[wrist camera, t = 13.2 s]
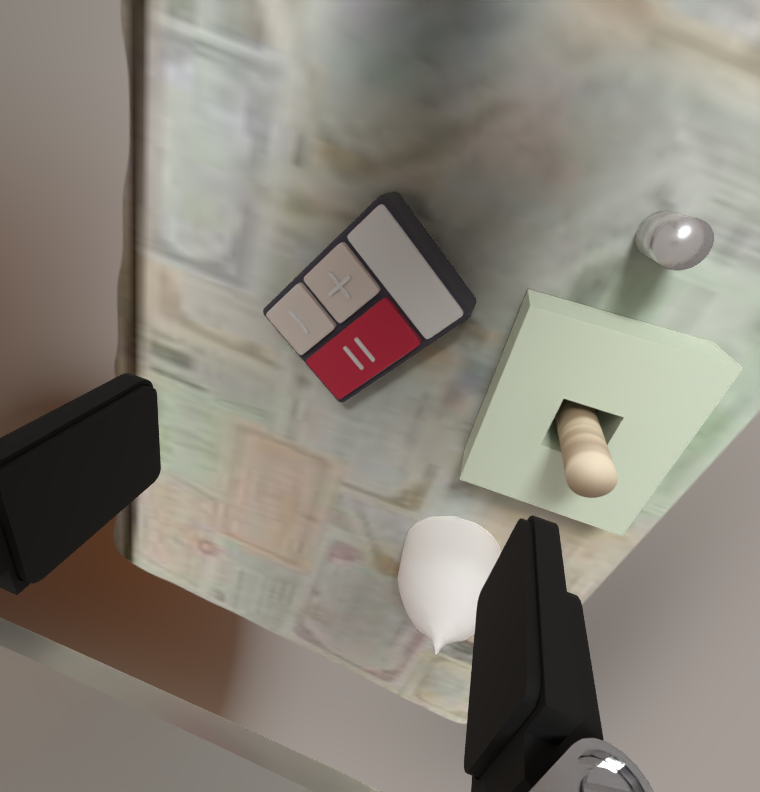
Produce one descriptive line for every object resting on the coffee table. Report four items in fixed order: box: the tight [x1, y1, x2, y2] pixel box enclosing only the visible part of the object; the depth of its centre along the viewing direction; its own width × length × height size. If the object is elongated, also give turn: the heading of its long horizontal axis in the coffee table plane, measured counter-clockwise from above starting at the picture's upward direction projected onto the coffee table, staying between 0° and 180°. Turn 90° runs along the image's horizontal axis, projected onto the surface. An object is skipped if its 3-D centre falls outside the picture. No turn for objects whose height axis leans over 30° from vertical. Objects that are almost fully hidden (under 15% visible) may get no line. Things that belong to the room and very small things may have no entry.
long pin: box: [555, 399, 618, 498], centre depth 33 cm, size 3×3×11 cm
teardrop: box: [397, 516, 501, 655], centre depth 44 cm, size 11×11×12 cm
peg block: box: [459, 289, 743, 536], centre depth 35 cm, size 16×14×5 cm
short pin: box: [635, 211, 714, 270], centre depth 28 cm, size 3×3×5 cm
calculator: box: [263, 192, 476, 402], centre depth 37 cm, size 11×4×15 cm
